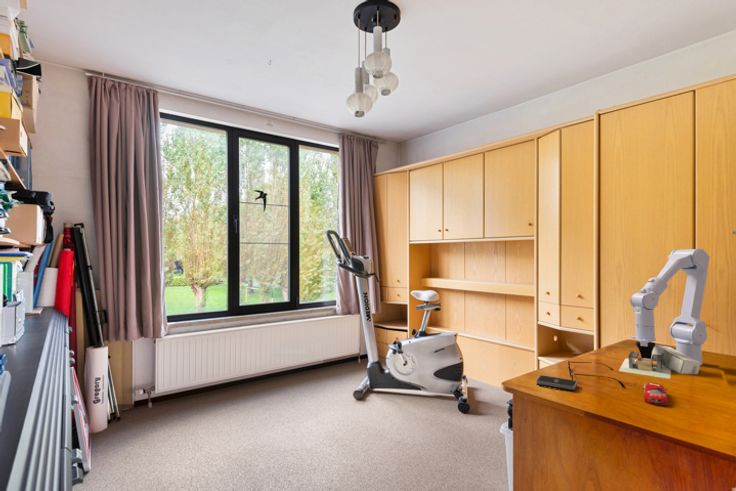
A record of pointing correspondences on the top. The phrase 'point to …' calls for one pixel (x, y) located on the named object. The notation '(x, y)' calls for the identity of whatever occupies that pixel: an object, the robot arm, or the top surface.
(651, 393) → the race car
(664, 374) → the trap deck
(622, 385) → the eyeglasses
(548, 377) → the external hard drive
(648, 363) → the wooden block
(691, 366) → the syrup box
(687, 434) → the top surface
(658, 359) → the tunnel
